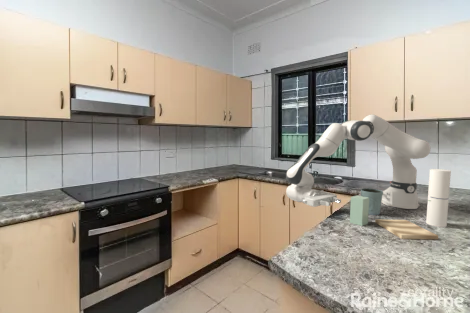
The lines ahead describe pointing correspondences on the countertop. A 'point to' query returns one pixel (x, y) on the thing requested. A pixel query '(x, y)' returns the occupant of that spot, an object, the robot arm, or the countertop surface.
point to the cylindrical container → (438, 197)
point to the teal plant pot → (373, 199)
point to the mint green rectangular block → (359, 210)
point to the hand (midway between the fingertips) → (334, 202)
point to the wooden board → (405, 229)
